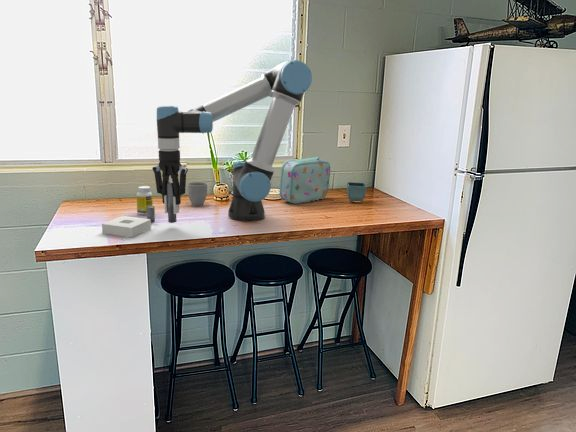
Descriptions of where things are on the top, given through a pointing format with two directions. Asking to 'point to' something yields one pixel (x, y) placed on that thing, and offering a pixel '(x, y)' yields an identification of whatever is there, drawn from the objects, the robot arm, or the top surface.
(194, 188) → the mug
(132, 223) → the socket block
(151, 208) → the short pin
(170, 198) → the long pin
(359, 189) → the flower pot
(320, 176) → the lunch box
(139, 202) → the pill bottle
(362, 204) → the top surface
